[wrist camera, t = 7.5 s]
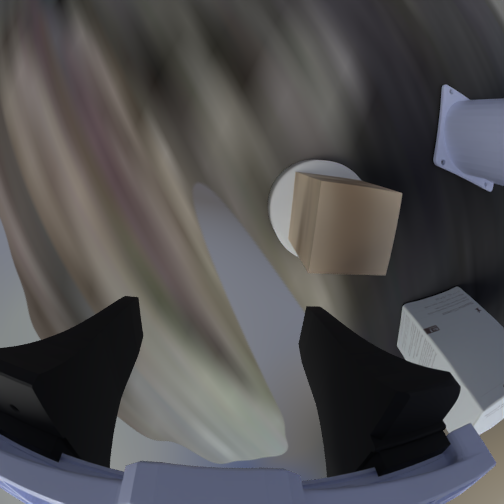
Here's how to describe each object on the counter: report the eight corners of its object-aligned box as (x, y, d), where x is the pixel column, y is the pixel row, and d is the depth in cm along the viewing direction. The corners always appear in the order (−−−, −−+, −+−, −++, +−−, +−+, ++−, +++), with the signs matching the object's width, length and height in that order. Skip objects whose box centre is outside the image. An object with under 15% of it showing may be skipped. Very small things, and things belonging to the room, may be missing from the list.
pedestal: (364, 171, 20) (379, 174, 18) (343, 255, 22) (355, 267, 20) (277, 150, 19) (283, 150, 17) (259, 242, 21) (263, 254, 19)
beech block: (359, 180, 18) (402, 193, 13) (349, 243, 19) (385, 275, 14) (295, 171, 17) (321, 180, 12) (288, 239, 19) (308, 273, 14)
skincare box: (457, 284, 25) (547, 361, 11) (448, 327, 27) (520, 407, 13) (397, 305, 25) (486, 412, 11) (392, 350, 27) (458, 453, 13)
